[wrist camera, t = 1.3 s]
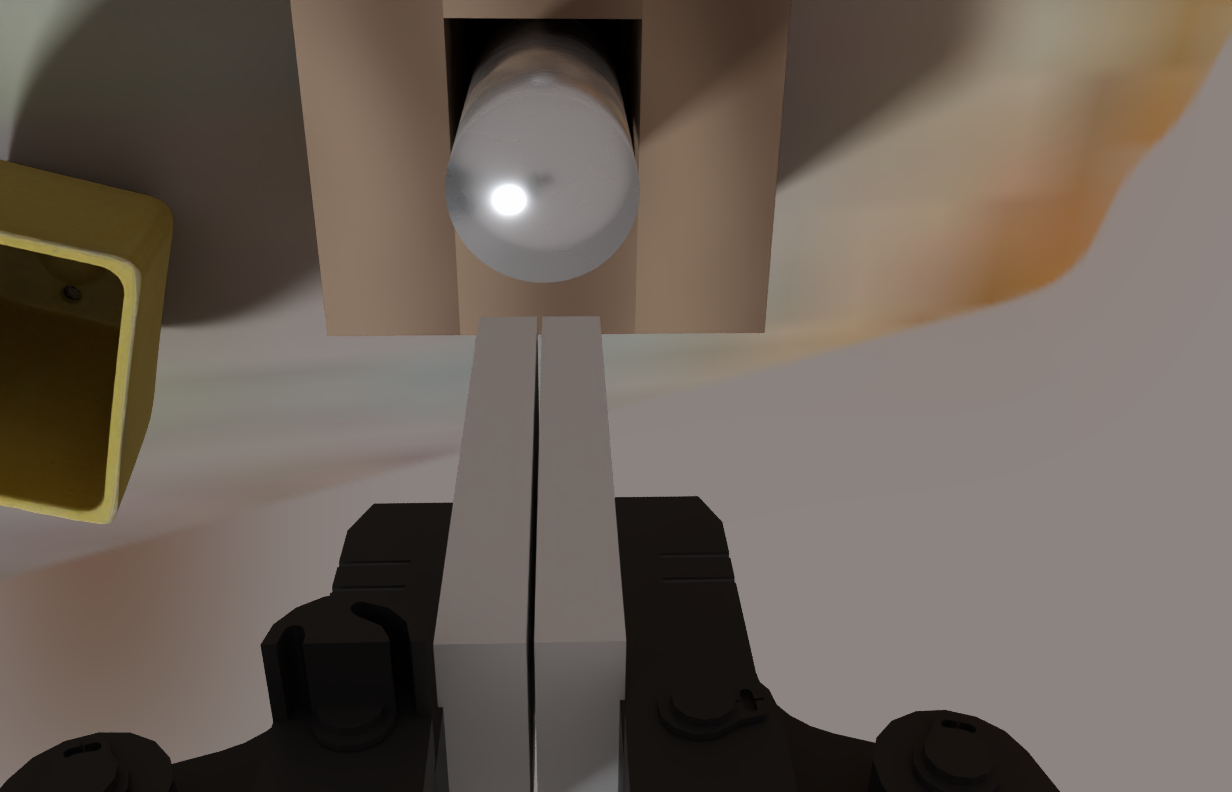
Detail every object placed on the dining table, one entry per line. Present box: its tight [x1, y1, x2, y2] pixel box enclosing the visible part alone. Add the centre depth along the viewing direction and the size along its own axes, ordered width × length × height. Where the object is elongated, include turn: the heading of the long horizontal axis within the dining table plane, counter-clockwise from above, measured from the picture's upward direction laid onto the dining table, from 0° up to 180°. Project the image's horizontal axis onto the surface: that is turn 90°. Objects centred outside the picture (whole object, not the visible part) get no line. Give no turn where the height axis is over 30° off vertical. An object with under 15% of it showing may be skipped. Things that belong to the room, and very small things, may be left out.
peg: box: [445, 18, 640, 283], centre depth 28 cm, size 4×4×9 cm
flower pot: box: [0, 160, 174, 524], centre depth 36 cm, size 9×9×9 cm
